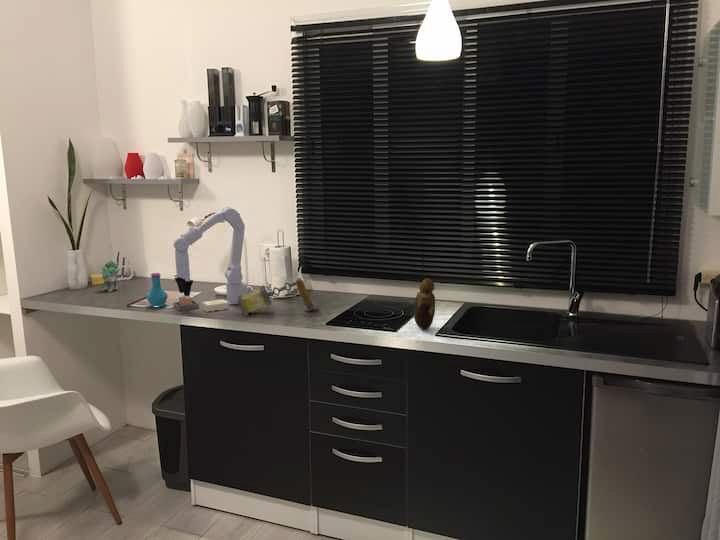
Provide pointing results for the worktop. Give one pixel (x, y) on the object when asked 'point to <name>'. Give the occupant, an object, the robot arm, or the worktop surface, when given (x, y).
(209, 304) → the block
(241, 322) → the worktop surface
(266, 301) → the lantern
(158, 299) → the perfume bottle
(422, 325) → the sculpture
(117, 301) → the worktop surface
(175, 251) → the robot arm
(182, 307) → the tray
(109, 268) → the toy
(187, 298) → the stub
